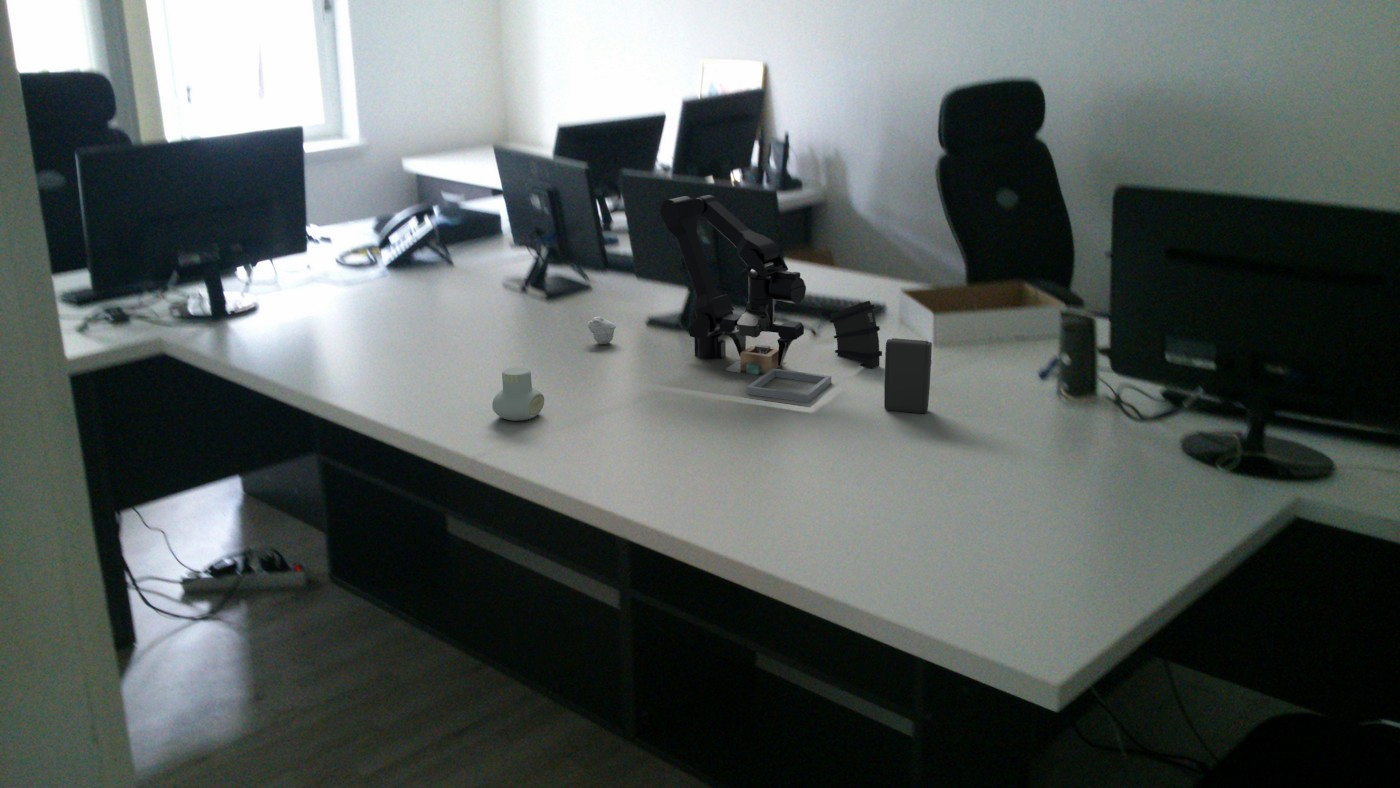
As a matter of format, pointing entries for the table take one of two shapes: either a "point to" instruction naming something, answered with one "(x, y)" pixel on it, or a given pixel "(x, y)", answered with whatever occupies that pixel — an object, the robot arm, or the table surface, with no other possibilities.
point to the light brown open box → (758, 360)
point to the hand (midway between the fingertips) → (761, 363)
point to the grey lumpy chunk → (601, 329)
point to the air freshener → (517, 396)
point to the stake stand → (736, 368)
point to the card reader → (907, 375)
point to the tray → (795, 396)
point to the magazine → (857, 334)
